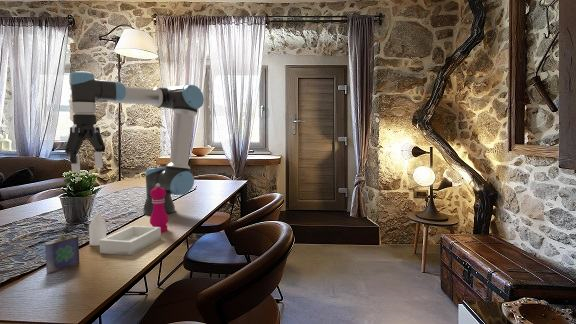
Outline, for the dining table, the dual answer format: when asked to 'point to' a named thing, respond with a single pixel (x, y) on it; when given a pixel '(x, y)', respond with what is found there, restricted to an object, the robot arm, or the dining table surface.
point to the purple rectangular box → (62, 253)
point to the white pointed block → (97, 229)
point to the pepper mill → (158, 208)
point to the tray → (130, 240)
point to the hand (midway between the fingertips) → (88, 170)
